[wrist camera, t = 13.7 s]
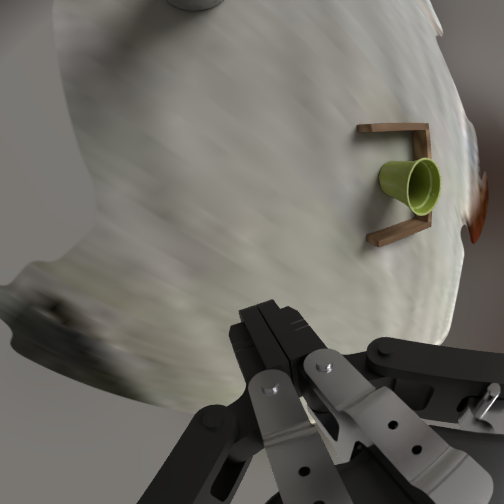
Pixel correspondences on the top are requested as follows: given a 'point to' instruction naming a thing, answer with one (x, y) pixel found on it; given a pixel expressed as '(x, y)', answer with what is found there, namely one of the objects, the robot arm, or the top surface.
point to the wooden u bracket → (421, 151)
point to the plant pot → (412, 183)
